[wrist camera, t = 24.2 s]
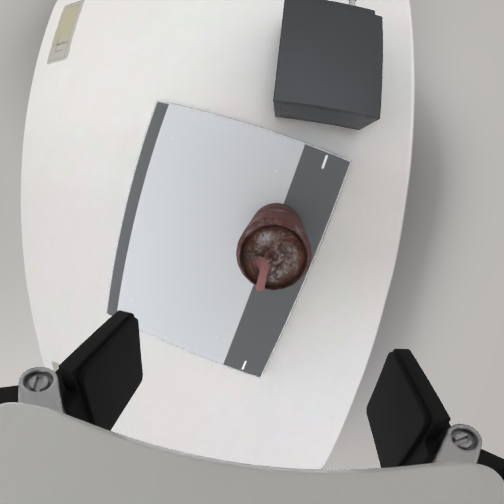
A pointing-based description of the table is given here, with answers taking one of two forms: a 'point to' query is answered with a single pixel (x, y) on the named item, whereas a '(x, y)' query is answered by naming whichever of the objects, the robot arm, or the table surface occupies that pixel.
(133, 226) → the white grey flat panel
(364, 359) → the table surface
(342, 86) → the dark grey cabinet
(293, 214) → the can
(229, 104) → the table surface
